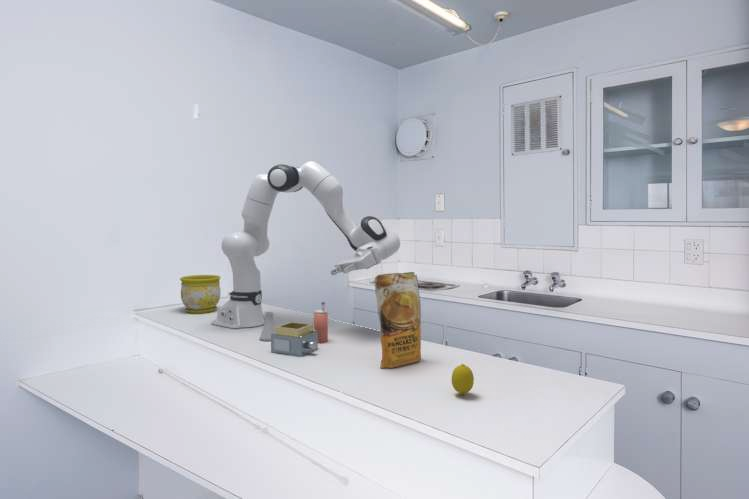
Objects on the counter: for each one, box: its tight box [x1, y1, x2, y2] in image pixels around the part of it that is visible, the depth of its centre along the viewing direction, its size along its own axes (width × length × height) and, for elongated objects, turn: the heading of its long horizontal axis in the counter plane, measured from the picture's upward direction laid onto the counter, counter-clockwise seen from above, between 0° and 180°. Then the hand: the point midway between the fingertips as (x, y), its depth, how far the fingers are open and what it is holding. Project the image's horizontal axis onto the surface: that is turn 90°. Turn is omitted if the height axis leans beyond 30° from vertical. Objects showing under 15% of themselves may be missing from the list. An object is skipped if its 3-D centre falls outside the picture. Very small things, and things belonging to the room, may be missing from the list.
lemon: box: [451, 363, 475, 396], centre depth 119 cm, size 6×6×8 cm
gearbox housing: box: [270, 321, 319, 357], centre depth 158 cm, size 15×10×8 cm
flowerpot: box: [179, 274, 221, 315], centre depth 224 cm, size 18×18×16 cm
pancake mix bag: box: [374, 271, 422, 369], centre depth 145 cm, size 7×19×28 cm, turn 127°
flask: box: [258, 311, 276, 342], centre depth 173 cm, size 7×7×10 cm
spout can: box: [313, 301, 329, 344], centre depth 170 cm, size 5×5×14 cm
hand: (337, 272), depth 172 cm, fingers open, 8 cm apart
